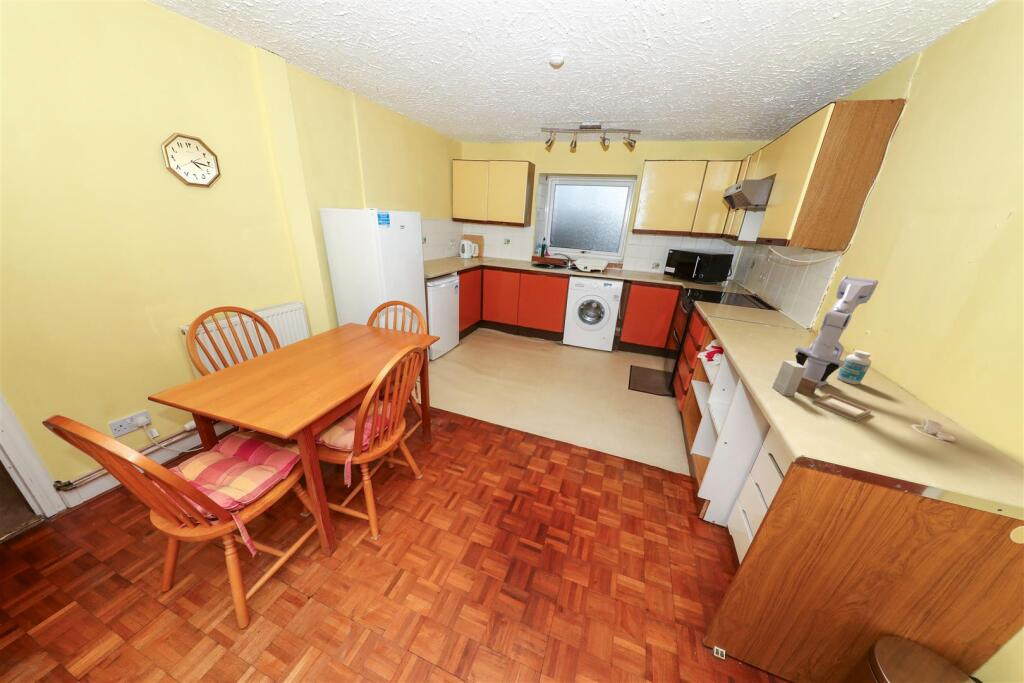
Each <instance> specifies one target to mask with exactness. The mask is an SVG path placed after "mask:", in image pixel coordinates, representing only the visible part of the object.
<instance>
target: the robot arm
mask: <svg viewBox="0 0 1024 683" xmlns="http://www.w3.org/2000/svg"><path fill="white" fill-rule="evenodd" d="M878 284H879V281H878V279H868V278H862V277H861V278H860V277H854V276H848V275H845V276H842V278H841V281H840V282H839V285H838V287H837V291H836V296H835V297H836V299H837V300H836V301H835V303H834V304H833V305H832V307H831V309H830V311H827V312H826V313H825V315H824V316H823V319H822V322H821V326H820V328H819V330H820V331H819V333H818V334H817V337H816V338H815V339H814V340H813V341H812V342H811V344H810V345H809V346H808V348H804V347H800V346H798V347H797V346H796V348H795V350H794V353H796V354H795V359H796V363H798V364H800V365H802V366H804V365H805V366H804V367H806V370H805V372H804V374H803V376H805V377H807V378H810V379H813V380H815V381H818V382H819V384H818V386H817V388H820V387H822V386H826V385H828V384H829V383H830V382H829V381H827V380H828V378H829V376H831V375H832V374H833V373H834V372H836V371H837V370H838V369H841V367H844V366H845V364H846V362H845V360H842V359H841V357H842V356H843V353H844V350H845V347H844V346H843V345H842V344H841V343H840V338H841V336H842V334H843V332H844V331H845V330H846V329H847V327H848V326H849V324H850V322H851V319H852V315H853V313H854V312H855V309H857V307H858V306H859V305H862V304H863V305H864V304H866V303H868V301H870V299H871V297H872V295H873V294H874V292H875V291H876V288H877V286H878ZM805 363H806V364H805ZM803 376H802V377H803Z"/></svg>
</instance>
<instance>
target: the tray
mask: <svg viewBox="0 0 1024 683" xmlns="http://www.w3.org/2000/svg"><path fill="white" fill-rule="evenodd" d="M812 404H813V405H816V406H818V407H821V408H823V409H825V410H828V411H830V412H833V413H835V414H837V415H840V416H842V417H845V418H847V419H849V420H852V421H854V422H857V421H859V420H861V419H863V418H865V417H867V416H868V415H870V414H871V413H872V409H869V408H867V407H865V406H861V405H860V404H857V403H854V402H852V401H849V400H847V399H844V398H841V397H839V396H836V395H834V394H831V393H827V394H824V395H822V396H819V397H817V398H815V399H813V401H812Z"/></svg>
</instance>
